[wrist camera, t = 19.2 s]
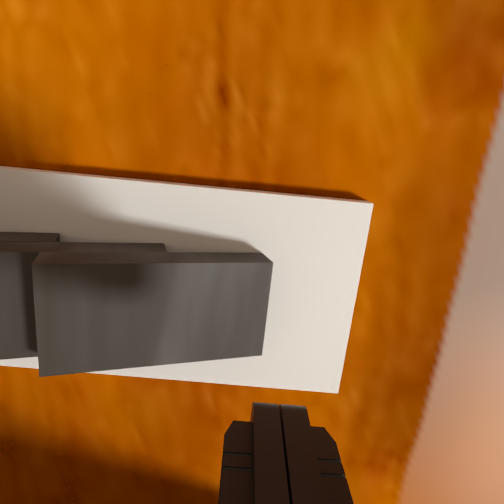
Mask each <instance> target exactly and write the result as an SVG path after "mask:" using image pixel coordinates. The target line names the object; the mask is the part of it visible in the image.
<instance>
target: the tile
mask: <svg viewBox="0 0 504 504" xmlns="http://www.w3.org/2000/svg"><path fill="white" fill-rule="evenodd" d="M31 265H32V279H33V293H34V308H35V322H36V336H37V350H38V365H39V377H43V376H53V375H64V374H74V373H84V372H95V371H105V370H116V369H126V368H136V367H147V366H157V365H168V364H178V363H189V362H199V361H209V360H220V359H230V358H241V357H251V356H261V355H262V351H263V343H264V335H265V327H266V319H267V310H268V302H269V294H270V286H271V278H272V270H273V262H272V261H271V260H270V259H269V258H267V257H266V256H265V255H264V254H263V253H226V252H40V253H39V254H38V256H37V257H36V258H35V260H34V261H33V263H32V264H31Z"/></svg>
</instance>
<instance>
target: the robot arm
mask: <svg viewBox="0 0 504 504" xmlns="http://www.w3.org/2000/svg"><path fill="white" fill-rule="evenodd" d="M218 504H353V500H352V497H351V493H350V490H349V486H348V483H347V479H346V478H345V473H344V469H343V466H342V463H341V459H340V455H339V452H338V448H337V445H336V442H335V441H334V440H333V438H332V437H331V436H330V434H329V433H328V432H327V431H326V429H325V428H324V427H312V426H310V422H309V418H308V413H307V409H306V407H305V406H295V405H282V404H280V405H278V404H268V403H255V402H253V404H252V412H251V421H250V422H245V421H233V422H232V424H231V425H230V427H229V428H228V430H227V431H226V433H225V435H224V446H223V457H222V468H221V479H220V490H219V501H218Z"/></svg>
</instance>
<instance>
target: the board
mask: <svg viewBox="0 0 504 504" xmlns="http://www.w3.org/2000/svg"><path fill="white" fill-rule="evenodd" d="M372 209H373V203H371V202H369V201H364V200H353V199H343V198H332V197H322V196H311V195H301V194H290V193H280V192H270V191H259V190H249V189H238V188H228V187H217V186H207V185H196V184H186V183H175V182H165V181H154V180H144V179H134V178H123V177H113V176H102V175H92V174H81V173H71V172H60V171H50V170H39V169H29V168H19V167H8V166H0V232H37V233H60V242H101V243H164V246H165V249H166V251H167V252H226V253H263V254H264V255H265V256H266V257H267V258H269V259H270V260H271V261H272V262H273V270H272V278H271V286H270V294H269V302H268V310H267V319H266V327H265V335H264V343H263V351H262V355H261V356H251V357H241V358H230V359H220V360H209V361H199V362H189V363H178V364H168V365H157V366H147V367H136V368H126V369H116V370H105V371H95V372H86V373H98V374H110V375H122V376H134V377H146V378H158V379H170V380H183V381H195V382H207V383H219V384H231V385H243V386H255V387H267V388H279V389H292V390H304V391H316V392H328V393H338V391H339V386H340V380H341V375H342V370H343V364H344V359H345V353H346V348H347V343H348V337H349V332H350V327H351V321H352V316H353V311H354V305H355V300H356V295H357V289H358V284H359V279H360V273H361V268H362V263H363V257H364V252H365V247H366V241H367V236H368V231H369V225H370V220H371V215H372ZM0 365H1V366H13V367H25V368H37V369H39V365H38V357H28V358H15V359H3V360H0Z"/></svg>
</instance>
